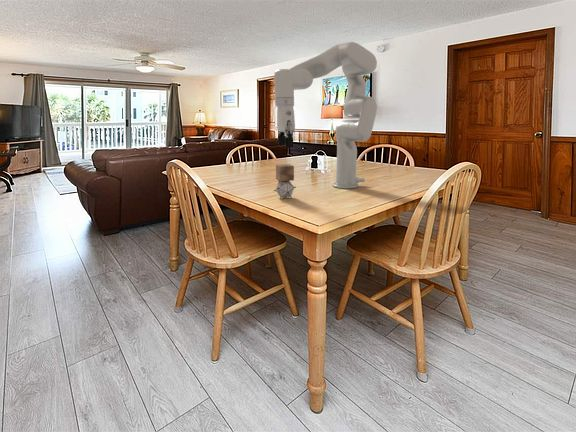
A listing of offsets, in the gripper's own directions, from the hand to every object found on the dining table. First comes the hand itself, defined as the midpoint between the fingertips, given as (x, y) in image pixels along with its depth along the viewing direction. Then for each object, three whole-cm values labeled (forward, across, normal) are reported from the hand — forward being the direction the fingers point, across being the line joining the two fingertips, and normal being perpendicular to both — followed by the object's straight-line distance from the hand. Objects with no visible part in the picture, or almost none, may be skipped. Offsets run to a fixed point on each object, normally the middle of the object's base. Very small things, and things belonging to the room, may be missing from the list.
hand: (285, 146), depth 148 cm
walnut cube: (+14, 0, +1) cm, 14 cm away
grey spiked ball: (+22, 0, +1) cm, 22 cm away
